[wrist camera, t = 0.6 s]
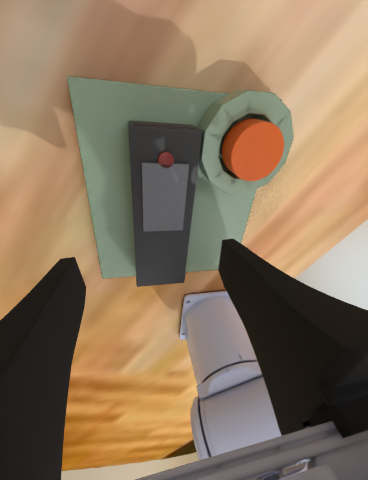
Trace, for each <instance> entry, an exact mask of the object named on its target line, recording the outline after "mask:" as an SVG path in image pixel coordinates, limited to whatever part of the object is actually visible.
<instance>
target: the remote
mask: <svg viewBox="0 0 368 480" xmlns="http://www.w3.org/2000/svg"><path fill="white" fill-rule="evenodd" d="M128 131H129V150H130V169H131V188H132V206H133V225H134V244H135V263H136V282H137V287H139V286H150V285H161V284H173V283H184V280H185V272H186V263H187V255H188V247H189V238H190V230H191V222H192V214H193V205H194V197H195V189H196V180H197V172H198V164H199V156H200V147H201V139H202V130H200V129H199V128H197V127H195V126H194V125H188V124H174V123H161V122H147V121H131V120H129V122H128Z"/></svg>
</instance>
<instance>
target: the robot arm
mask: <svg viewBox="0 0 368 480" xmlns="http://www.w3.org/2000/svg"><path fill="white" fill-rule="evenodd" d="M218 270H219V273H220V276H221V279H222V282H223V284H224V287H225V289H226V291H218V292H208V293H198V294H188V295H186V296H185V297H184V302H183V310H182V318H181V326H180V334H179V338H180V339H181V340H183V339H187V344H188V348H189V353H190V357H191V362H192V366H193V371H194V375H195V379H196V381H197V383H198V385H197V391H198V395H199V396H197V397H195V398H194V400H193V404H192V407H191V414H190V416H191V427H192V434H193V439H194V443H195V447H196V451H197V454H198V457H199V461H196V462H193V463H189V464H186V465H183V466H179V467H176V468H173V469H169V470H166V471H162V472H159V473H156V474H152V475H149V476H146V477H142V478H139V479H136V480H368V310H365V309H362V308H359V307H357V306H354V305H351V304H349V303H346V302H343V301H341V300H338V299H336V298H334V297H331V296H329V295H327V294H325V293H322V292H320V291H318V290H316V289H313V288H311V287H309V286H307V285H305V284H304V283H301V282H300V281H298V280H296V279H294V278H292V277H290V276H289V275H287V274H285V273H284V272H282V271H280V270H279V269H277V268H275V267H274V266H272V265H271V264H269V263H268V262H266V261H265V260H263V259H262V258H260V257H259V256H257V255H256V254H255V253H253V252H252V251H250V250H249V249H248V248H246V247H245V246H243V245H242V244H241V243H239V242H238V241H236V240H235V239H226V240H222V246H221V253H220V260H219V267H218ZM85 295H86V286H85V283H84V281H83V278H82V275H81V273H80V270H79V267H78V265H77V262H76V259H75V257H72V258H64V259H60V260H59V261H58V262H57V263H56V264H55V265H54V266H53V268H52V269H51V270H50V271H49V272H48V273H47V274H46V275H45V276H44V277H43V279H42V280H41V281H40V282H39V283H38V284H37V285H36V286H35V287H34V288H33V289H32V290H31V291H30V292H29V293H28V294H27V295H26V296H25V297H24V298H23V299H22V300H21V301H20V302H19V303H18V304H17V305H16V306H15V307H14V308H13V309H12V310H11V311H10V312H9V313H8V314H7V315H6V316H5V317H4V318H3V319H1V320H0V480H61V469H62V453H63V439H64V427H65V416H66V406H67V397H68V388H69V380H70V372H71V365H72V359H73V354H74V350H75V345H76V341H77V337H78V333H79V328H80V324H81V320H82V315H83V311H84V305H85Z"/></svg>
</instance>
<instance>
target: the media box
mask: <svg viewBox="0 0 368 480" xmlns="http://www.w3.org/2000/svg"><path fill="white" fill-rule="evenodd" d="M67 80H68V86H69V91H70V97H71V103H72V108H73V114H74V120H75V125H76V131H77V137H78V143H79V148H80V154H81V160H82V165H83V171H84V177H85V182H86V188H87V194H88V200H89V205H90V211H91V217H92V222H93V228H94V234H95V239H96V245H97V251H98V257H99V262H100V268H101V274H102V278H103V279H105V278H118V277H131V276H136V263H135V244H134V225H133V206H132V188H131V169H130V150H129V131H128V122H129V120H131V121H147V122H161V123H174V124H188V125H194V126H195V127H197V128H199V129H200V130H202V139H201V147H200V156H199V164H198V172H197V180H196V189H195V197H194V205H193V214H192V222H191V230H190V238H189V247H188V255H187V263H186V272H195V271H208V270H218V267H219V260H220V253H221V246H222V240H226V239H235V240H236V241H238V242H239V243H241V241H242V238H243V234H244V231H245V227H246V224H247V221H248V217H249V214H250V210H251V207H252V203H253V200H254V196H255V193H256V189H258V188H260V187H262V186H264V185H265V184H267V183H269V182H270V181H271V179H272V178H273V177H274V176H275V175H276V174H277V172H278V171H279V170H280V169H281V168H282V166H283V165H284V164H285V162H286V159H287V156H288V153H289V150H290V147H291V144H292V142H293V137H294V136H293V127H292V119H291V113H290V112H291V111H290V110H289V109H288V108H287V107H286V105H285V104H284V103H283V102H282V100H281V99H279V97H278V96H277V95H276V94H275V93H271V92H262V91H254V90H234V91H233V92H231V93H219V92H210V91H201V90H192V89H182V88H173V87H164V86H155V85H146V84H136V83H127V82H118V81H109V80H99V79H90V78H81V77H72V76H68V77H67ZM245 119H259V120H263V121H267V122H270V123H273V124H274V125H276V126H277V127H278V128H279V129H280V131H281V132H282V135H283V138H284V151H283V155H282V157H281V160H280V162H279V163H278V165H277V166H276V168H275V169H274V170H273V171H272V172H271V173H270V174H269V175H267V176H266V177H264V178H262V179H260V180H257V181H245V180H242V179H240V178H239V177H237V176H236V175H235V174H234V173H233V172H231V171H230V170H229V169H228V168H227V167H226V166H225V164H224V162H223V158H222V146H223V142H224V139H225V137H226V135H227V134H228V132H229V131H230V130H231V128H232V127H233V126H235V125H236V124H237V123H239V122H240V121H242V120H245Z"/></svg>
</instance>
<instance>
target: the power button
mask: <svg viewBox="0 0 368 480" xmlns="http://www.w3.org/2000/svg"><path fill="white" fill-rule="evenodd" d="M283 151H284V138H283V135H282V132H281V131H280V129H279V128H278V127H277V126H276V125H274V124H273V123H270V122H267V121H263V120H259V119H245V120H242V121H240V122H239V123H237V124H236V125H235V126H233V127H232V128H231V130H230V131H229V132H228V134H227V135H226V137H225V139H224V142H223V146H222V158H223V162H224V164H225V166H226V167H227V168H228V169H229V170H230V171H231V172H233V173H234V174H235V175H236V176H237V177H239V178H240V179H242V180H245V181H257V180H260V179H262V178H264V177H266V176H267V175H269V174H270V173H271V172H272V171H273V170H274V169H275V168H276V166H277V165H278V163H279V162H280V160H281V157H282V155H283Z"/></svg>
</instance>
